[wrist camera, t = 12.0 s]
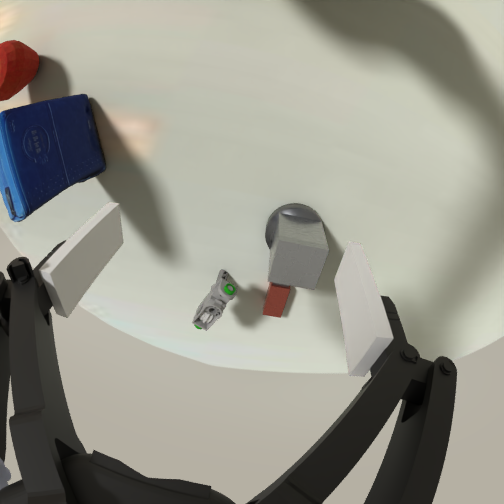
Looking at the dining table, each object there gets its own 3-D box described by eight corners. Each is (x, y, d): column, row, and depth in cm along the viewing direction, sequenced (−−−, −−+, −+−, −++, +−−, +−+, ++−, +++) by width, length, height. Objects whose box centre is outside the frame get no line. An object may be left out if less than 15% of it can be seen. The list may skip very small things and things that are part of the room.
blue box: (112, 169, 41) (30, 224, 24) (89, 176, 42) (10, 231, 25) (92, 89, 33) (-4, 109, 16) (70, 101, 34) (-22, 127, 17)
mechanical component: (246, 258, 47) (238, 297, 39) (216, 294, 52) (205, 333, 44) (231, 249, 47) (220, 287, 38) (203, 286, 52) (189, 325, 43)
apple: (40, 100, 34) (-8, 113, 23) (13, 86, 31) (-31, 98, 21) (60, 45, 28) (11, 46, 18) (30, 36, 26) (-15, 39, 16)
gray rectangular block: (279, 212, 40) (278, 239, 34) (321, 221, 40) (329, 250, 34) (270, 249, 44) (267, 281, 37) (309, 257, 44) (314, 289, 37)
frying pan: (272, 197, 41) (270, 221, 35) (330, 210, 41) (339, 235, 35) (248, 303, 53) (243, 335, 46) (294, 311, 53) (295, 343, 46)
